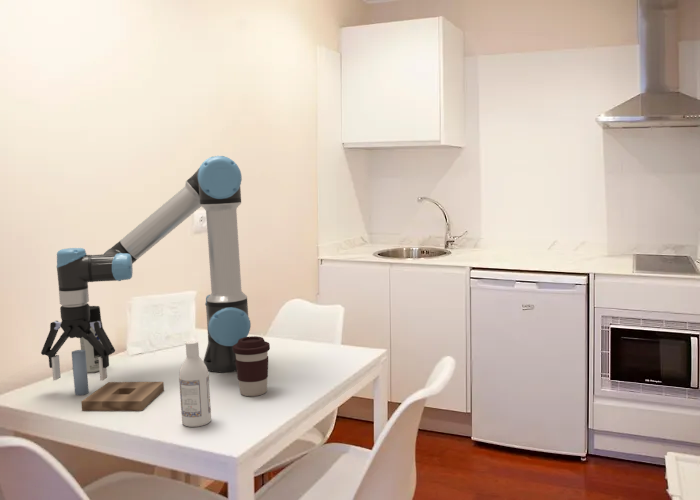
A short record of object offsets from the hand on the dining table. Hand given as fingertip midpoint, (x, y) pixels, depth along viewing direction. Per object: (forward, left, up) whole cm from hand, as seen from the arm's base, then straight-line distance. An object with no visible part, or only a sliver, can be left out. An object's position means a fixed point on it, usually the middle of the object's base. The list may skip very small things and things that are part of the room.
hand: (80, 379), depth 190 cm
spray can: (+7, -22, -4) cm, 24 cm away
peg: (0, 0, -4) cm, 4 cm away
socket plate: (-15, +6, -4) cm, 17 cm away
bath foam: (-40, +22, -4) cm, 46 cm away
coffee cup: (-49, 0, -4) cm, 49 cm away
